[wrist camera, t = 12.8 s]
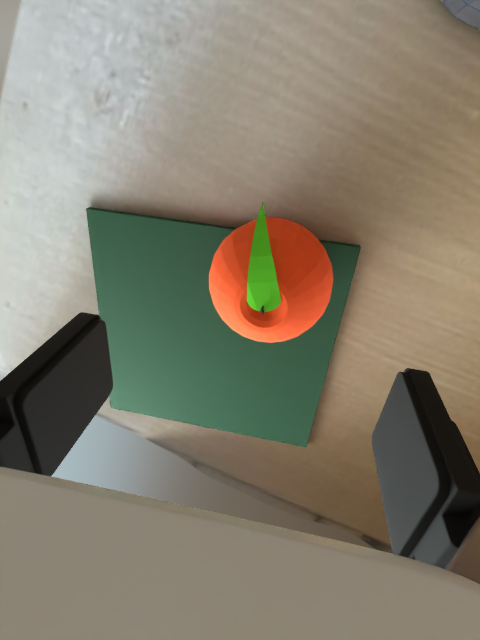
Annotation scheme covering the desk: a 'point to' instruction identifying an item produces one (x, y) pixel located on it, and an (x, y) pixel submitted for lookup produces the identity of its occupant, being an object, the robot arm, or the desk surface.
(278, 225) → the clementine
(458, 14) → the bowl
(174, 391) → the mat
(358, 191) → the desk surface
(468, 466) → the robot arm
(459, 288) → the desk surface
